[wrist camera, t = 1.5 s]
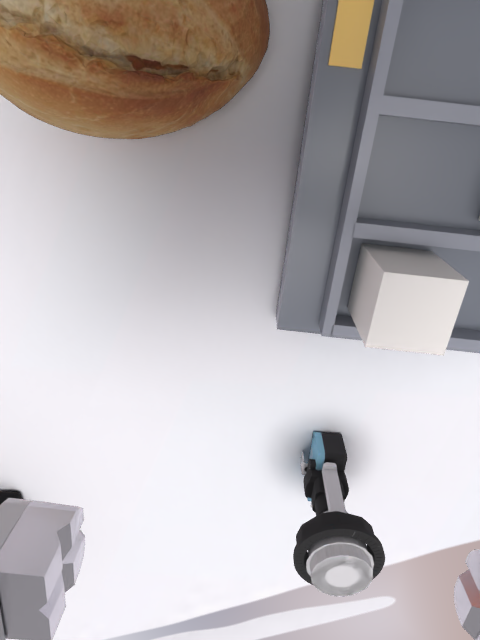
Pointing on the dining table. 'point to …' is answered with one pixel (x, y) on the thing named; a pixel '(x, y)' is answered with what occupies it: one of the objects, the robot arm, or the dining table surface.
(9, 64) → the bread roll
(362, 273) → the tab
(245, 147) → the dining table surface
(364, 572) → the push button
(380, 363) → the dining table surface
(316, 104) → the switch bank
